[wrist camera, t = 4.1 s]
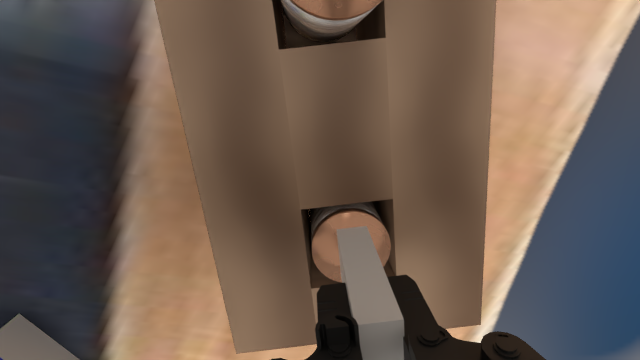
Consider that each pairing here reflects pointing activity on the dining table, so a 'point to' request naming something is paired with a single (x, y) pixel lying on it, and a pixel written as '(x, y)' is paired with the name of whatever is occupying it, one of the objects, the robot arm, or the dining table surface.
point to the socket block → (335, 150)
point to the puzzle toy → (29, 343)
